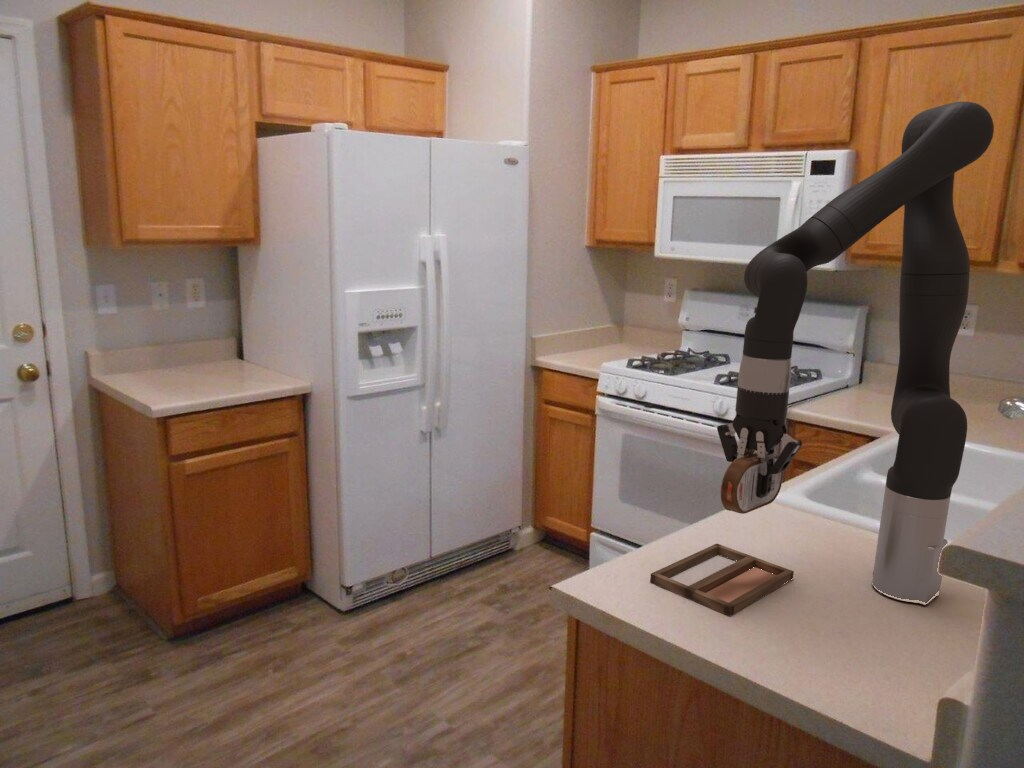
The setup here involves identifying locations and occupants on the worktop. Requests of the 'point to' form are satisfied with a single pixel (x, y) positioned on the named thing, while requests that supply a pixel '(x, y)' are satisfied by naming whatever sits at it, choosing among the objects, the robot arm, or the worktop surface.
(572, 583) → the worktop surface
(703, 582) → the rack
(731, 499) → the tin
